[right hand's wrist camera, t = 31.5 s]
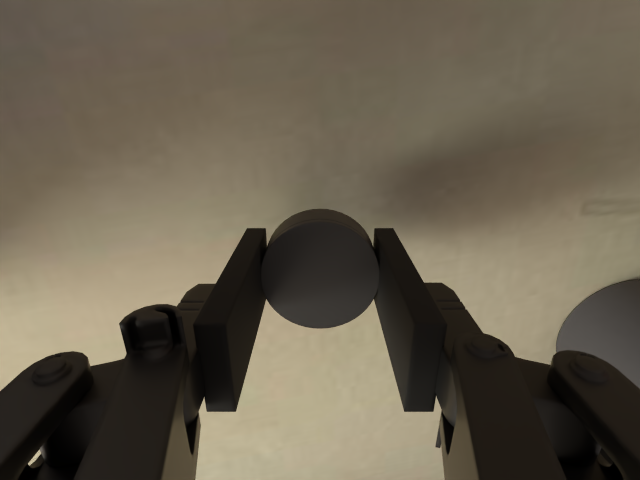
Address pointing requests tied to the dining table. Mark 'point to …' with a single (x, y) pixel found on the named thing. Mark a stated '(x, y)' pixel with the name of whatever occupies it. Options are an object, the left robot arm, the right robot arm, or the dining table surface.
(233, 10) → the dining table surface
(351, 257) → the cap
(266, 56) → the dining table surface
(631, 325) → the bottle
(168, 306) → the right robot arm
